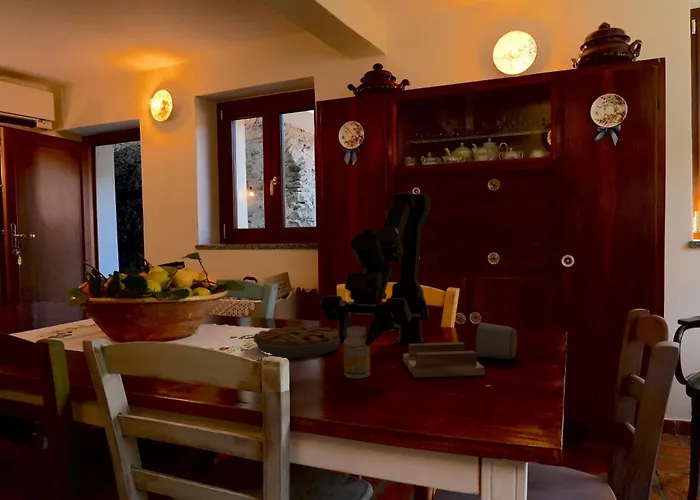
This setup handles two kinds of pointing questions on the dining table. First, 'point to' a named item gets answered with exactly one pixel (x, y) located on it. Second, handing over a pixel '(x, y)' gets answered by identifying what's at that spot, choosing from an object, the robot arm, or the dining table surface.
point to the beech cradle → (442, 360)
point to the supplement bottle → (356, 353)
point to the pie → (298, 341)
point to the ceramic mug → (496, 341)
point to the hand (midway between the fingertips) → (353, 343)
